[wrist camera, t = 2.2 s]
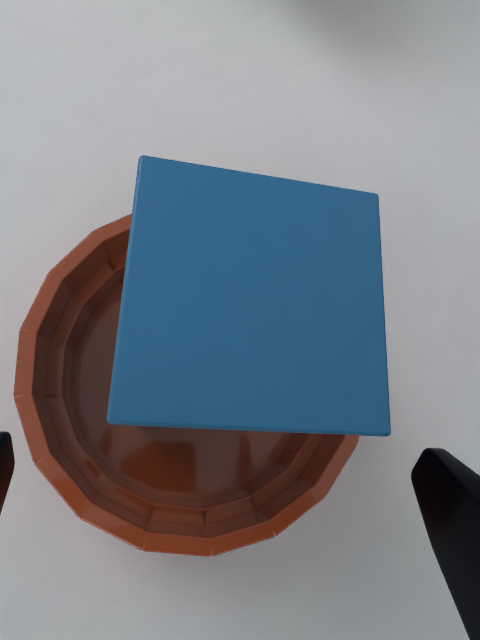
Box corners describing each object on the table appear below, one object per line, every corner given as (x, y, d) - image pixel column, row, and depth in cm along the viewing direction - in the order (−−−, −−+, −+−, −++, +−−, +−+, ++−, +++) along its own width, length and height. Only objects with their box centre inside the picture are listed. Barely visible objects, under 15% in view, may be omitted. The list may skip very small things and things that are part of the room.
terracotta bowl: (359, 482, 20) (409, 495, 16) (62, 569, 16) (34, 612, 12) (293, 230, 22) (322, 190, 18) (27, 261, 19) (-5, 219, 15)
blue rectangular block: (247, 430, 19) (392, 437, 7) (135, 425, 18) (105, 424, 6) (251, 325, 20) (379, 192, 9) (147, 315, 19) (139, 152, 8)
